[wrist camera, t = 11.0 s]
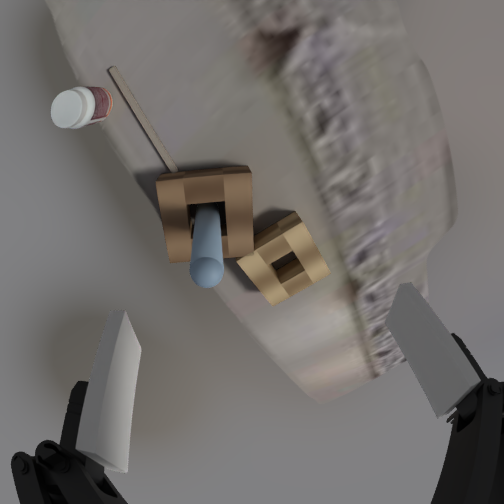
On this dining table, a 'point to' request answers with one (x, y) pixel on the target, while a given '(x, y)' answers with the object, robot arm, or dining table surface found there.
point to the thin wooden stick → (143, 119)
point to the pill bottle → (81, 107)
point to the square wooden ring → (203, 191)
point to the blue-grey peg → (207, 246)
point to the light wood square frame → (276, 246)
